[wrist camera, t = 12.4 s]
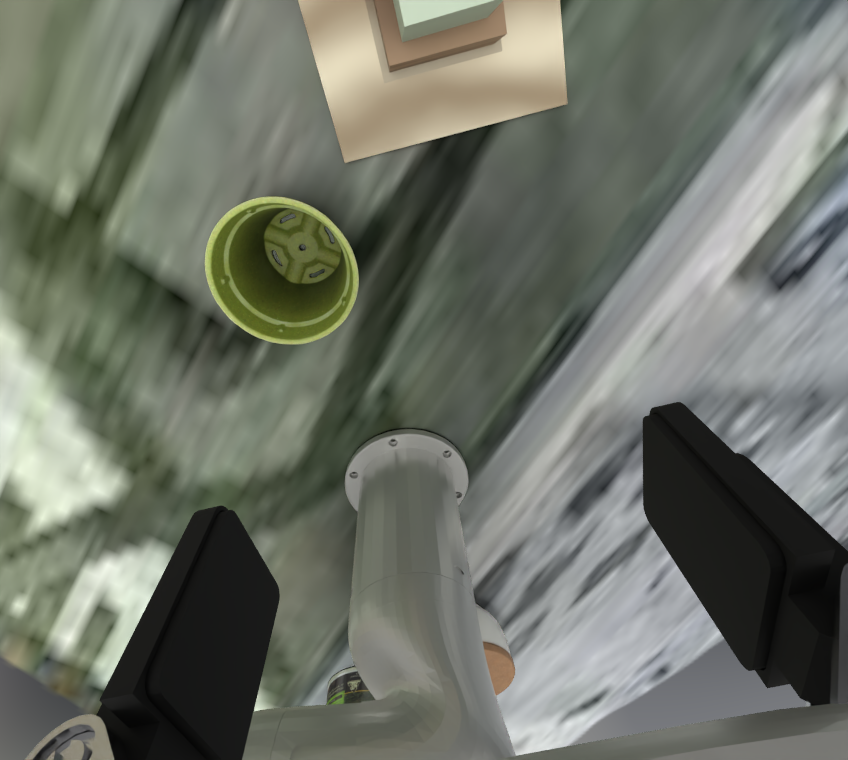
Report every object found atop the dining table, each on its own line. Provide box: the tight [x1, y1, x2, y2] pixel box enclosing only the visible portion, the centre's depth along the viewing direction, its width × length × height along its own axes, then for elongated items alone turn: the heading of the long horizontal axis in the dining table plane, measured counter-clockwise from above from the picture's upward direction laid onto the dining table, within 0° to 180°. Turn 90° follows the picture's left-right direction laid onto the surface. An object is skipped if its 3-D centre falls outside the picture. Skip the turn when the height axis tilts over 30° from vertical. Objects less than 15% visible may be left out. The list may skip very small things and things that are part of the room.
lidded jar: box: [475, 603, 515, 695], centre depth 56 cm, size 11×11×9 cm
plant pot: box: [205, 196, 359, 344], centre depth 33 cm, size 9×9×9 cm
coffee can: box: [326, 667, 375, 705], centre depth 60 cm, size 10×10×14 cm
